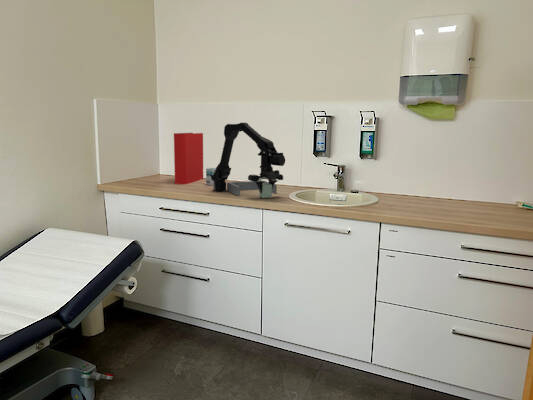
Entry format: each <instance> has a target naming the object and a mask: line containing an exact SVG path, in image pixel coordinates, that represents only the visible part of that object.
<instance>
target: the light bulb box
mask: <svg viewBox="0 0 533 400" xmlns="http://www.w3.org/2000/svg"><path fill="white" fill-rule="evenodd" d="M216 167H217V166H216ZM216 167H207V168H205V174H206V175H205V180H206V181H205V184H206V186H211V187H214V181H212V179H211V176H212V175H213V174H214V173H215V170H216Z"/></svg>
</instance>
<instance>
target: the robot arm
mask: <svg viewBox="0 0 533 400" xmlns="http://www.w3.org/2000/svg"><path fill="white" fill-rule="evenodd" d="M223 129H224V130H223V135H224V142H223V143H224V144H223V148H222V153H221V156H220V162H219V163H218V164H217V166H216V170H215V173H214V174H213V175H212V176H211V179H212V181H214V186H213V188H212V190H213V191H214V192H227V182H226V181H227V180H228V178H229V176H230V175H231V170H232V167H230V166H229V165H230V164H229V163H230V160H231V155H232V151H233V146H234V141H235V140H237V137H238V135H239V134H240V133H239V132H243V133H244V134H246V135H247V136H248V137H249V138H250V140H253V142H254V143H255V144H256V146H257V148H258V149H259V150H260V151H259V153H257V156H260V166H259V169H260V172H259V175H257V174H249V175H248V177H247V181H254V182H256V184H257V186H258V189H257V190H258V192H259V191H260V193H261V194H262V182H263V181H264V180H267V181H268V182H269V184H272V188H273V186H274V184H276V183H277V182H278V181H284V174H281V173H280V170H279V169H276V170H274V169H273V166H279V167H283V166H284V165H285V164H286V157H285V155H284V152H278V151H277V149H276V147H275V146H274V145H275V144H274V142H273V141H272V140H270V139H269V138H266V137H264V136H262V135H261V134H259V132H258V131H256V130H255V129H254V128H253V127H251V126H250V124H249V123H247V122H240V123H226V125H224V127H223Z"/></svg>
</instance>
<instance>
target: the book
mask: <svg viewBox="0 0 533 400" xmlns="http://www.w3.org/2000/svg"><path fill="white" fill-rule="evenodd" d="M173 155H174V157H173V158H174V163H173V164H174V184H175V185H188V184H192V183H194V182H198V181H201V180H204V133H203V132H198V133H197V132H195V133H193V132H176V133H173Z"/></svg>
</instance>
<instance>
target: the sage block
mask: <svg viewBox="0 0 533 400" xmlns="http://www.w3.org/2000/svg"><path fill="white" fill-rule="evenodd" d="M258 192H259V196H258V197H260V198H262V199H265V198H266V199H269V198H272V197H273V196H272V195H273V194H272V184H269V183H263V184H262V194H261V193H260V191H259V190H258Z"/></svg>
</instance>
